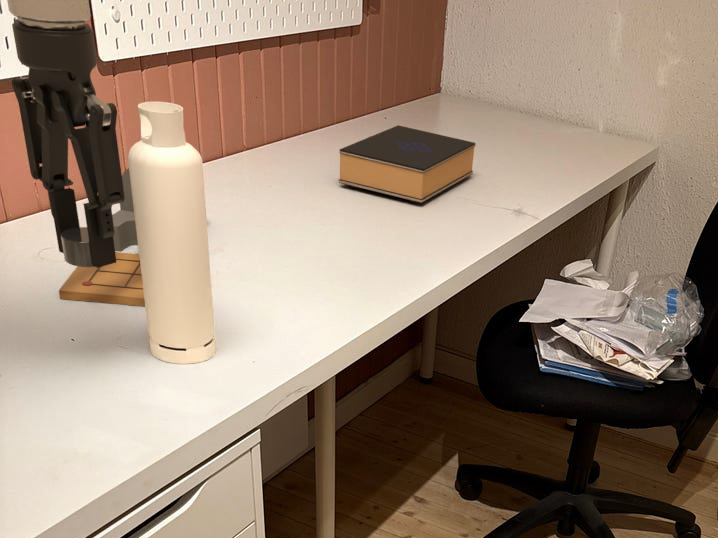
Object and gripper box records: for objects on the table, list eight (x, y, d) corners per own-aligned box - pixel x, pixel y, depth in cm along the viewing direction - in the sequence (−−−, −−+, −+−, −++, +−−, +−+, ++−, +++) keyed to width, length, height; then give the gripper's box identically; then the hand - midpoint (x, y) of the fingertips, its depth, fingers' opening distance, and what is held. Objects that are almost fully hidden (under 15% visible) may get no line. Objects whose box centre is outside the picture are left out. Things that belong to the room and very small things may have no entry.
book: (338, 187, 181) (339, 149, 177) (396, 160, 199) (397, 125, 195) (421, 207, 177) (423, 169, 173) (472, 178, 195) (475, 142, 191)
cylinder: (58, 264, 108) (54, 239, 106) (72, 249, 112) (68, 224, 110) (104, 269, 109) (100, 244, 107) (115, 254, 112) (112, 229, 111)
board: (60, 298, 130) (58, 289, 129) (91, 257, 142) (90, 248, 141) (180, 309, 132) (179, 300, 131) (201, 268, 144) (200, 259, 143)
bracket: (208, 223, 158) (203, 153, 151) (162, 258, 145) (154, 183, 138) (153, 213, 159) (145, 143, 152) (101, 247, 145) (90, 172, 138)
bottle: (140, 342, 123) (109, 99, 105) (199, 332, 127) (179, 96, 109) (167, 368, 118) (140, 118, 100) (227, 356, 122) (211, 115, 104)
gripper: (144, 36, 94) (168, 272, 109) (25, 1, 101) (62, 228, 116) (82, 42, 89) (115, 288, 104) (-40, 4, 96) (8, 241, 111)
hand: (87, 256), depth 110 cm, fingers closed on cylinder, 5 cm apart
